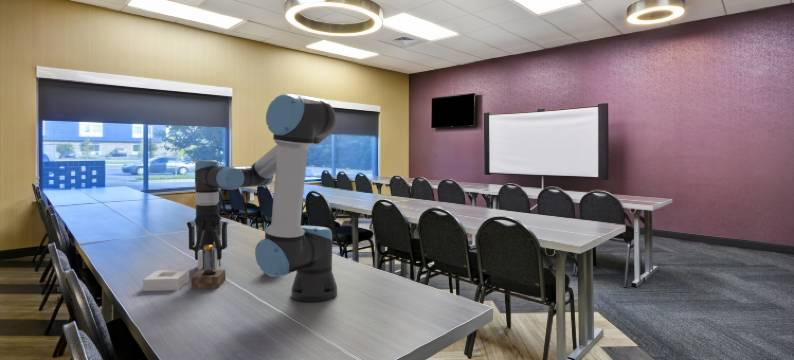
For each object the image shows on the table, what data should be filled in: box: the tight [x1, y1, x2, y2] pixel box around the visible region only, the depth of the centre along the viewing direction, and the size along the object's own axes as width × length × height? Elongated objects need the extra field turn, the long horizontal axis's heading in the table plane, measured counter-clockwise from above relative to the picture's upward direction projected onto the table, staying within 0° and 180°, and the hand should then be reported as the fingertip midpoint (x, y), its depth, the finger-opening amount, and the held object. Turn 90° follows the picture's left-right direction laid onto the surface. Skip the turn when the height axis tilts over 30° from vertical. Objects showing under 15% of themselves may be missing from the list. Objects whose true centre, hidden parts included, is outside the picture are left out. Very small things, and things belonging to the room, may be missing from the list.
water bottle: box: [195, 214, 223, 270], centre depth 172 cm, size 10×10×23 cm
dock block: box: [142, 269, 190, 292], centre depth 148 cm, size 11×11×4 cm
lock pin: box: [203, 245, 215, 275], centre depth 150 cm, size 3×3×14 cm
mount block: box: [190, 269, 226, 290], centre depth 150 cm, size 9×9×4 cm
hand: (208, 268), depth 150 cm, fingers open, 5 cm apart
